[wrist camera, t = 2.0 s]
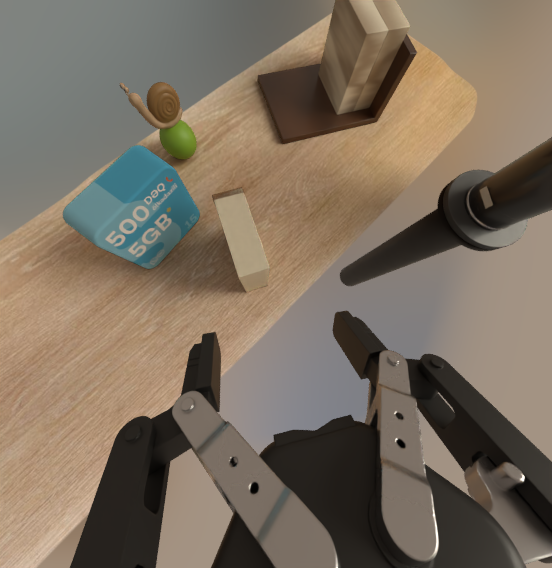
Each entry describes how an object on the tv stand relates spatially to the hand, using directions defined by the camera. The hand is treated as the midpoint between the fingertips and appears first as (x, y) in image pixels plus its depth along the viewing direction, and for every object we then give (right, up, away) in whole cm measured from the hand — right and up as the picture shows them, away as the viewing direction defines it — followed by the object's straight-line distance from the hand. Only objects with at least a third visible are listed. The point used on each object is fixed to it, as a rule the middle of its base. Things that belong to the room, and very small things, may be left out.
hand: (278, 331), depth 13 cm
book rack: (+8, +39, +26) cm, 48 cm away
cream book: (-5, +7, +20) cm, 21 cm away
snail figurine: (-17, +26, +22) cm, 38 cm away
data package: (-18, +11, +20) cm, 29 cm away
